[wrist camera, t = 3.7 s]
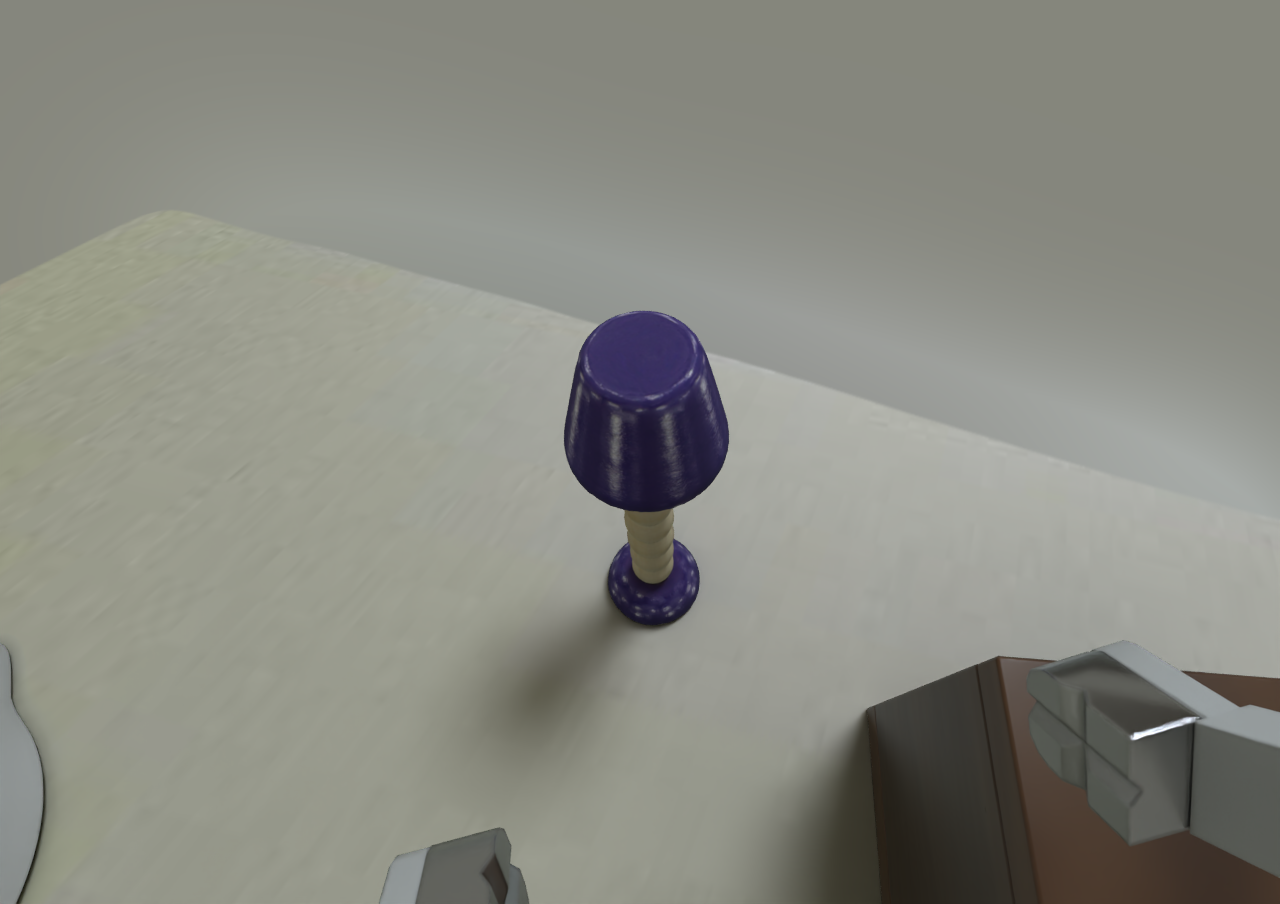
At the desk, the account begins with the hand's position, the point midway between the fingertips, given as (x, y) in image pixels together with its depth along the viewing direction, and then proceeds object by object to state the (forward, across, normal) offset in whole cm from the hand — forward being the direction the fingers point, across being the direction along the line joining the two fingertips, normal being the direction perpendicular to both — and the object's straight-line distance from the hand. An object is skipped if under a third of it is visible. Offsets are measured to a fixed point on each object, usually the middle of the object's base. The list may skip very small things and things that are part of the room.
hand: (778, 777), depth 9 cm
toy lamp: (+19, 0, +6) cm, 20 cm away
